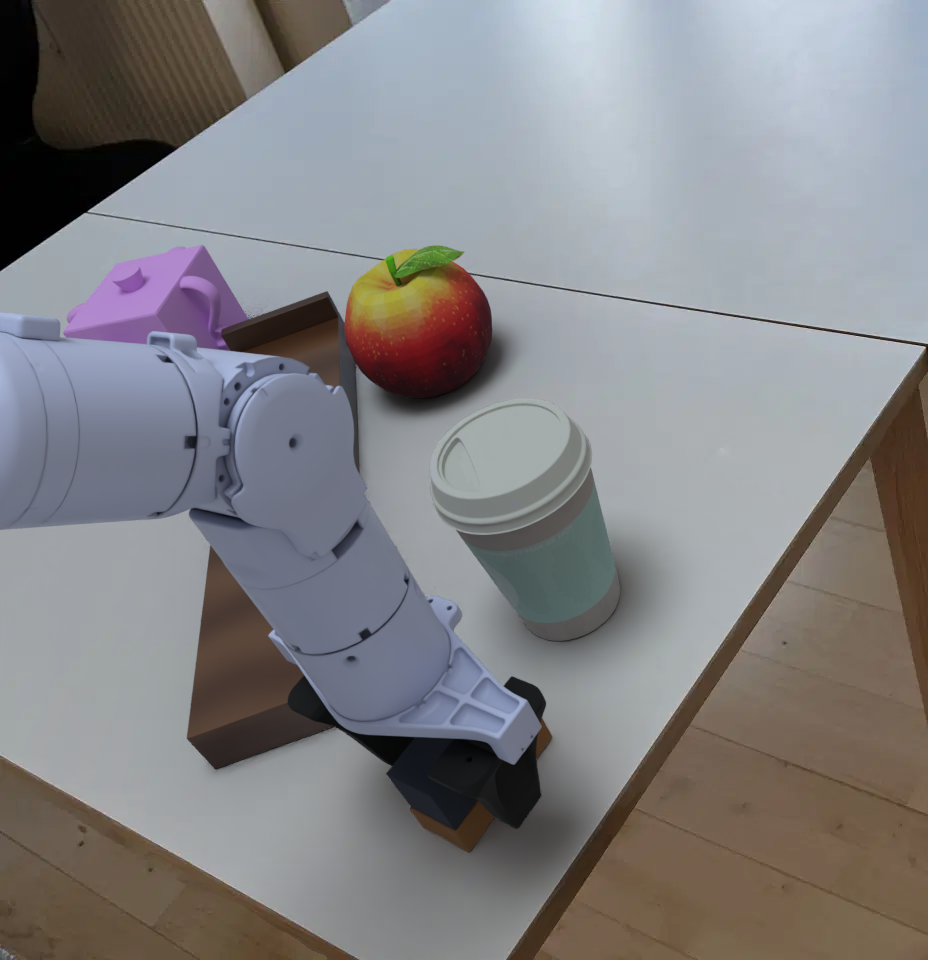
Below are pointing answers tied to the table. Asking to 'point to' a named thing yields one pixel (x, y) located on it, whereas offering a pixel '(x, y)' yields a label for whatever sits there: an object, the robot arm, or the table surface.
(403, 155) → the table surface
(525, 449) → the coffee cup
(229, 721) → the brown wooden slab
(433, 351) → the fruit
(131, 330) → the teapot
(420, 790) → the cube on wooden base
